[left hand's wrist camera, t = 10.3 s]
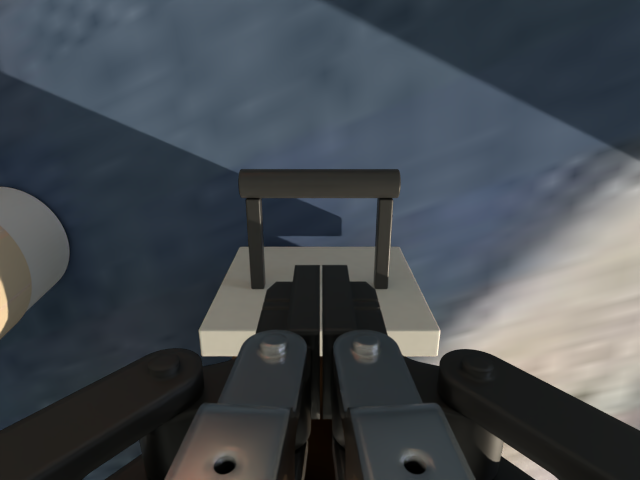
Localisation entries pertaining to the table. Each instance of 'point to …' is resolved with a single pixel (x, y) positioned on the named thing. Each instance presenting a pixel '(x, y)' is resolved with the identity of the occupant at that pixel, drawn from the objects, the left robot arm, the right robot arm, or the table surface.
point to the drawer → (278, 266)
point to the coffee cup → (27, 254)
